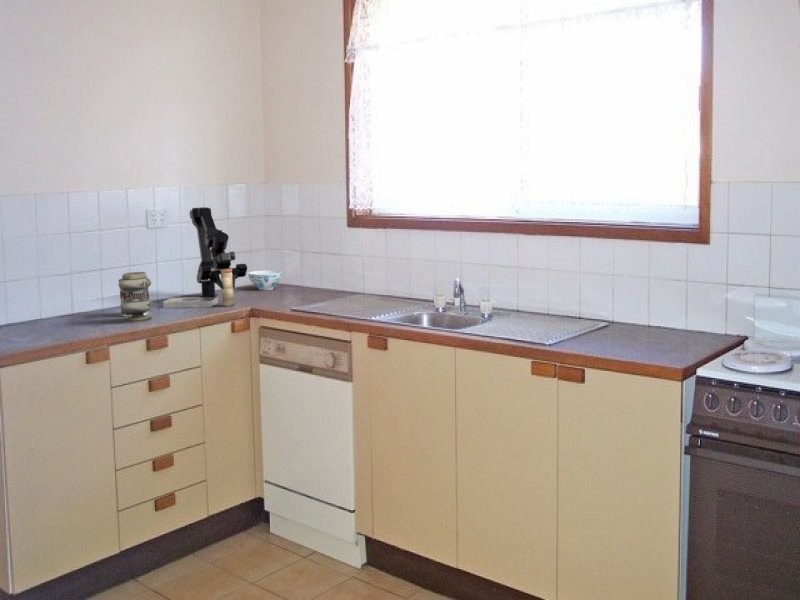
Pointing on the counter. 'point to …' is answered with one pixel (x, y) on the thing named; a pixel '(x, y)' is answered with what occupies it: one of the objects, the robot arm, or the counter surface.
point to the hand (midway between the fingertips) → (228, 287)
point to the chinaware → (265, 278)
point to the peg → (227, 287)
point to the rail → (190, 302)
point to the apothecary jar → (136, 296)
